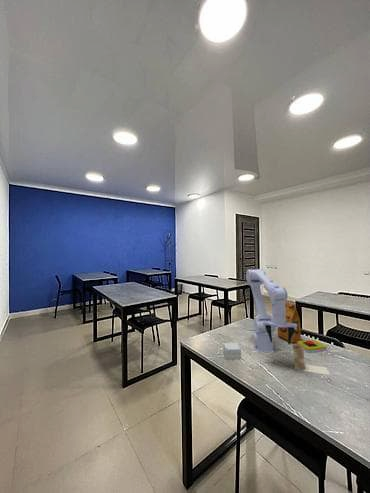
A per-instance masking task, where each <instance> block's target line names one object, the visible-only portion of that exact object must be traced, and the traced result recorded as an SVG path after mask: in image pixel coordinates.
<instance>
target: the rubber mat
mask: <svg viewBox="0 0 370 493" xmlns="http://www.w3.org/2000/svg"><path fill="white" fill-rule="evenodd" d="M302 371H303V372H308V373H314V374H321V375H326V376H327V375H328V376H330V372H329V370H328V368H327V367H326V366H325V367H324V366H319V365H310V364H306V363H305V370H302Z"/></svg>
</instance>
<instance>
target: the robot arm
mask: <svg viewBox="0 0 370 493" xmlns="http://www.w3.org/2000/svg"><path fill="white" fill-rule="evenodd" d="M245 278H246V282H247V285H248V286H249V287H250V289H251V293H252V297H253V301H254V306H255V309H256V314H257V315H256V316H255V317H254V319H253V328H254V332H253V341H254V342H253V346H254V347H253V348H254V351H255V352H256V351H257V352H262V353H270V354H274V345H273V334H274V332H275V331H276V328H277V327H283V328H288V341H287V342H288V345H291V342H290V341H291V338H292V335H293V333H294V329H297V325H296V324H294V323H288V322H286V313H285V302H286V300H287V299H288V291H287V289H286V288H285V287H281V286H279V285H278V284H277V282H275V281H274V280H273V279H269V278H268V276H267V274H266V270H265V269H264V268H258V269H247V270H246V273H245ZM262 285H263V288H264V289H265V291H266V292H268V296H269V299H270V303H271V310H272V316H271V315H269V314H268V313H267V309H266V306H265V302H264V298H263V294H262V290H261V286H262Z"/></svg>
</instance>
